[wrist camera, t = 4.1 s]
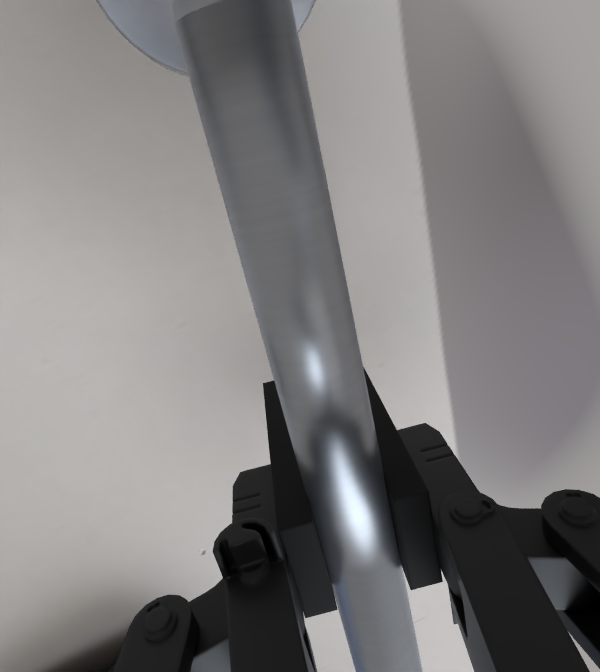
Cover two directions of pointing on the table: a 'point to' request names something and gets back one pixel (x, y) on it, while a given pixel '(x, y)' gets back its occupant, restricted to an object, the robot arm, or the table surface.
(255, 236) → the ladle
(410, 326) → the table surface
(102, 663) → the table surface
